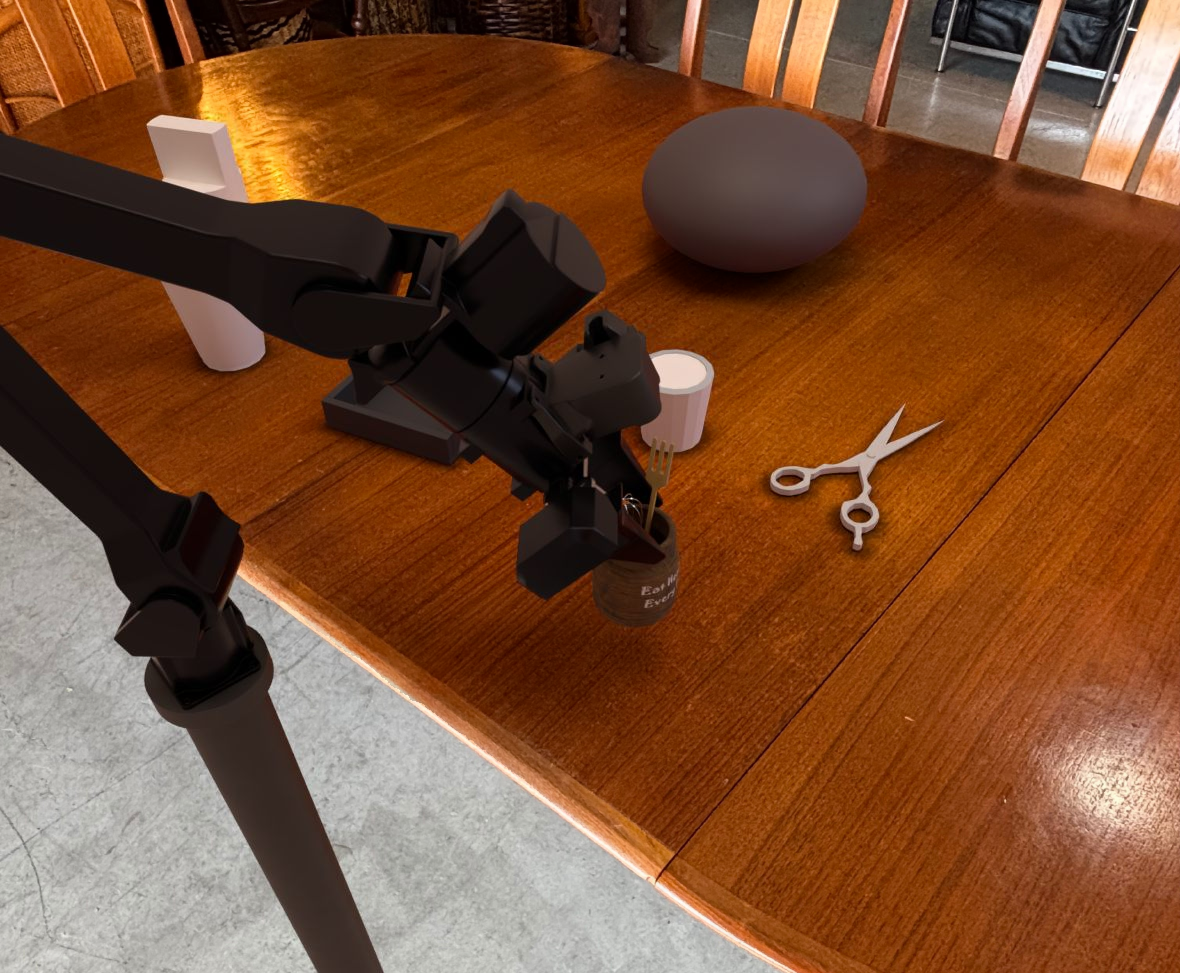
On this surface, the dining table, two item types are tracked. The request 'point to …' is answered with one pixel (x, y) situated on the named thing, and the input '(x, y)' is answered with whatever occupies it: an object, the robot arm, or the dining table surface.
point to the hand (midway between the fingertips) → (659, 532)
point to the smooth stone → (754, 189)
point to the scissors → (857, 463)
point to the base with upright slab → (197, 156)
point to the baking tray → (390, 422)
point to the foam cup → (217, 329)
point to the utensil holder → (640, 587)
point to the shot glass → (680, 399)
